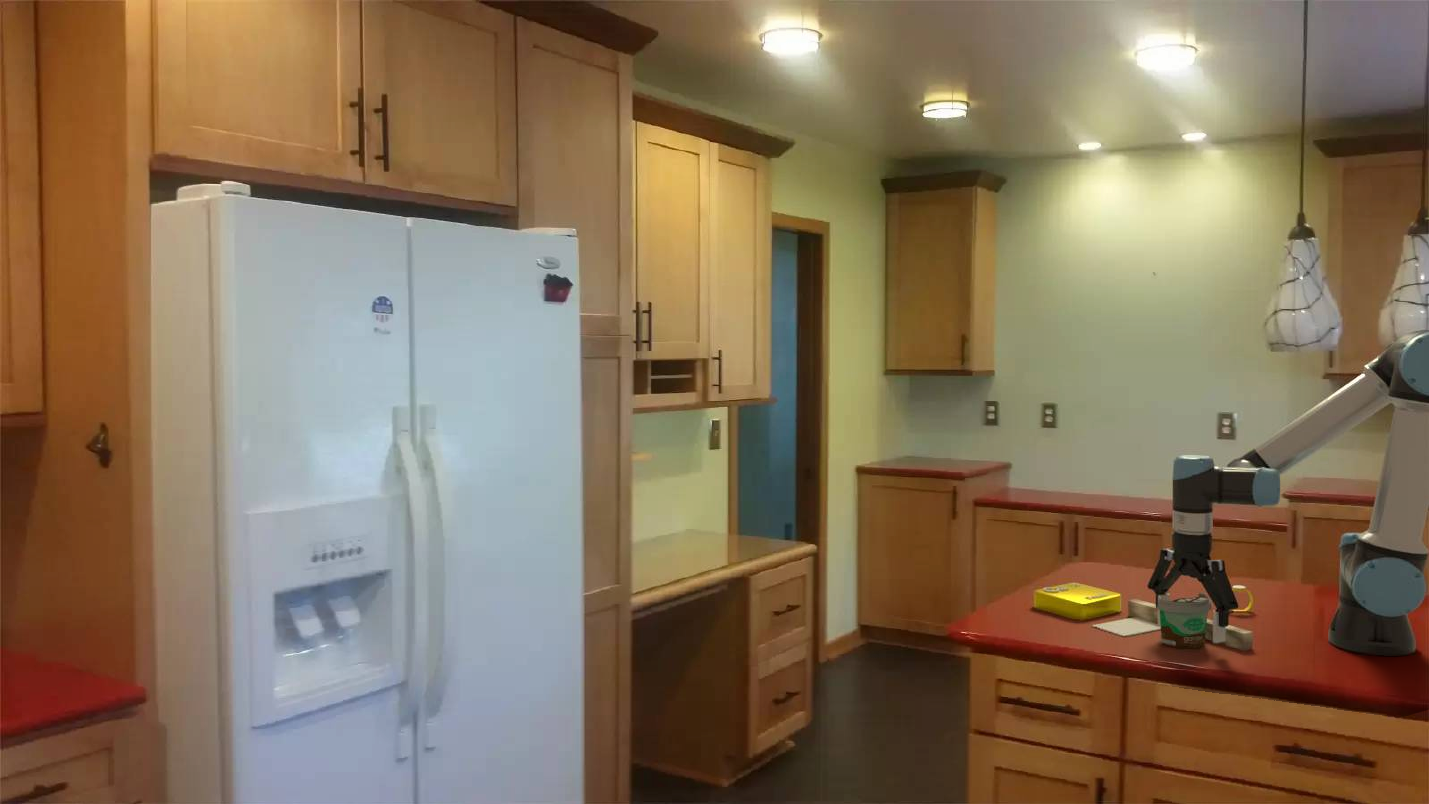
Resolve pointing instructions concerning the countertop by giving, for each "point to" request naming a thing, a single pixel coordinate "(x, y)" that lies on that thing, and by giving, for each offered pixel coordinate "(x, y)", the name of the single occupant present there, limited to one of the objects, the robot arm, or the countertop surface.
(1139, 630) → the plate
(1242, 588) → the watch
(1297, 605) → the countertop surface
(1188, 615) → the food container
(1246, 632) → the maple straightedge
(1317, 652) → the countertop surface
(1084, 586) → the element tile
